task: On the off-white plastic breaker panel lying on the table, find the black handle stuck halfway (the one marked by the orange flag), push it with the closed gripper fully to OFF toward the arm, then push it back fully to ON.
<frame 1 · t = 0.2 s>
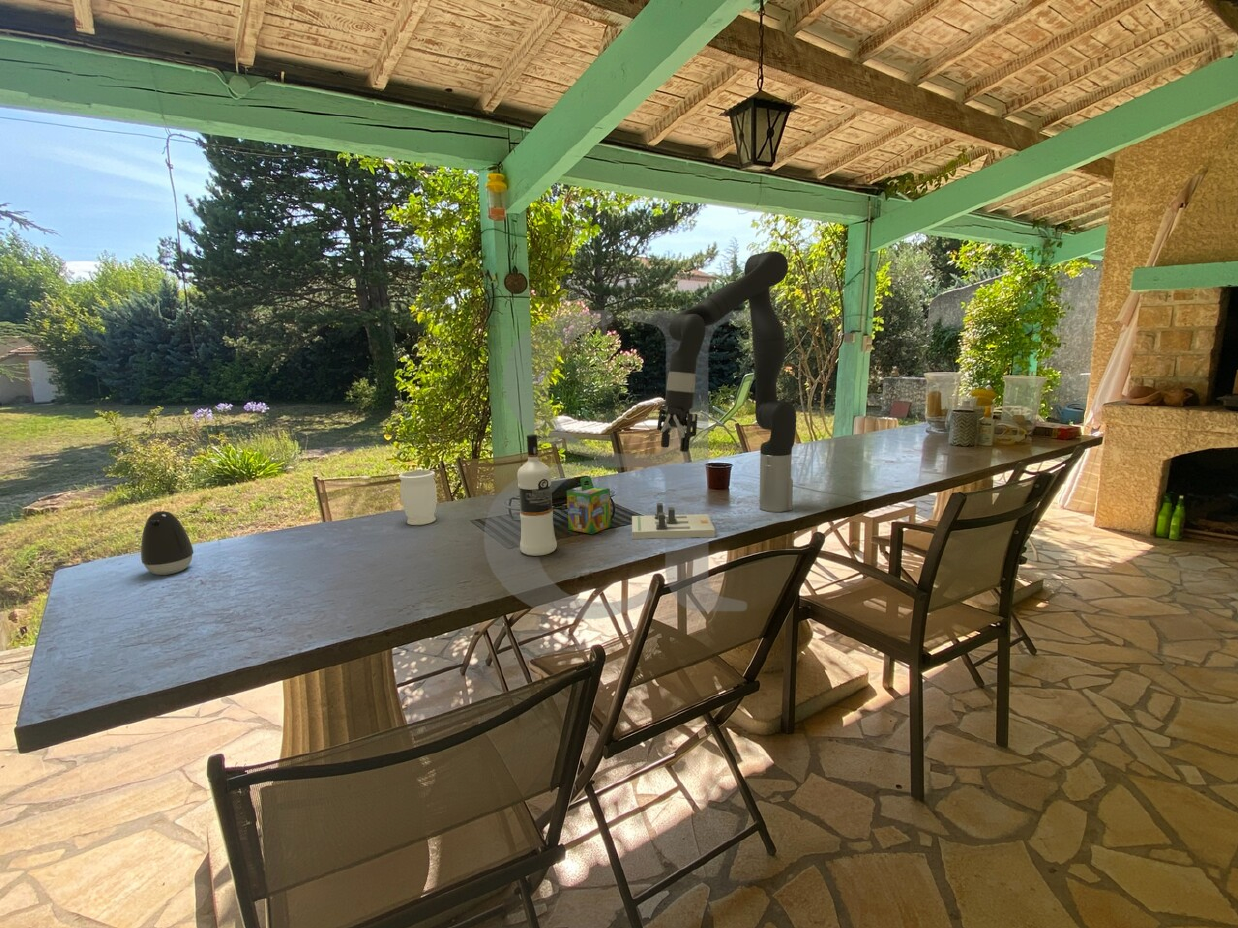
hand: (674, 449, 166), 22 cm above the table, tool pointing down, fingers open, 8 cm apart
breaker panel: (671, 529, 169), on the table
handle c: (661, 520, 164), point 4 cm above the table, slide at 6.0 cm
vodka: (538, 551, 155), on the table
handle a: (659, 510, 173), point 4 cm above the table, slide at 6.0 cm
dark rounded egg-shaped piece: (170, 572, 148), on the table
tripped handle: (671, 515, 168), point 4 cm above the table, slide at 3.0 cm
chalk box: (590, 529, 173), on the table
jar: (421, 522, 185), on the table
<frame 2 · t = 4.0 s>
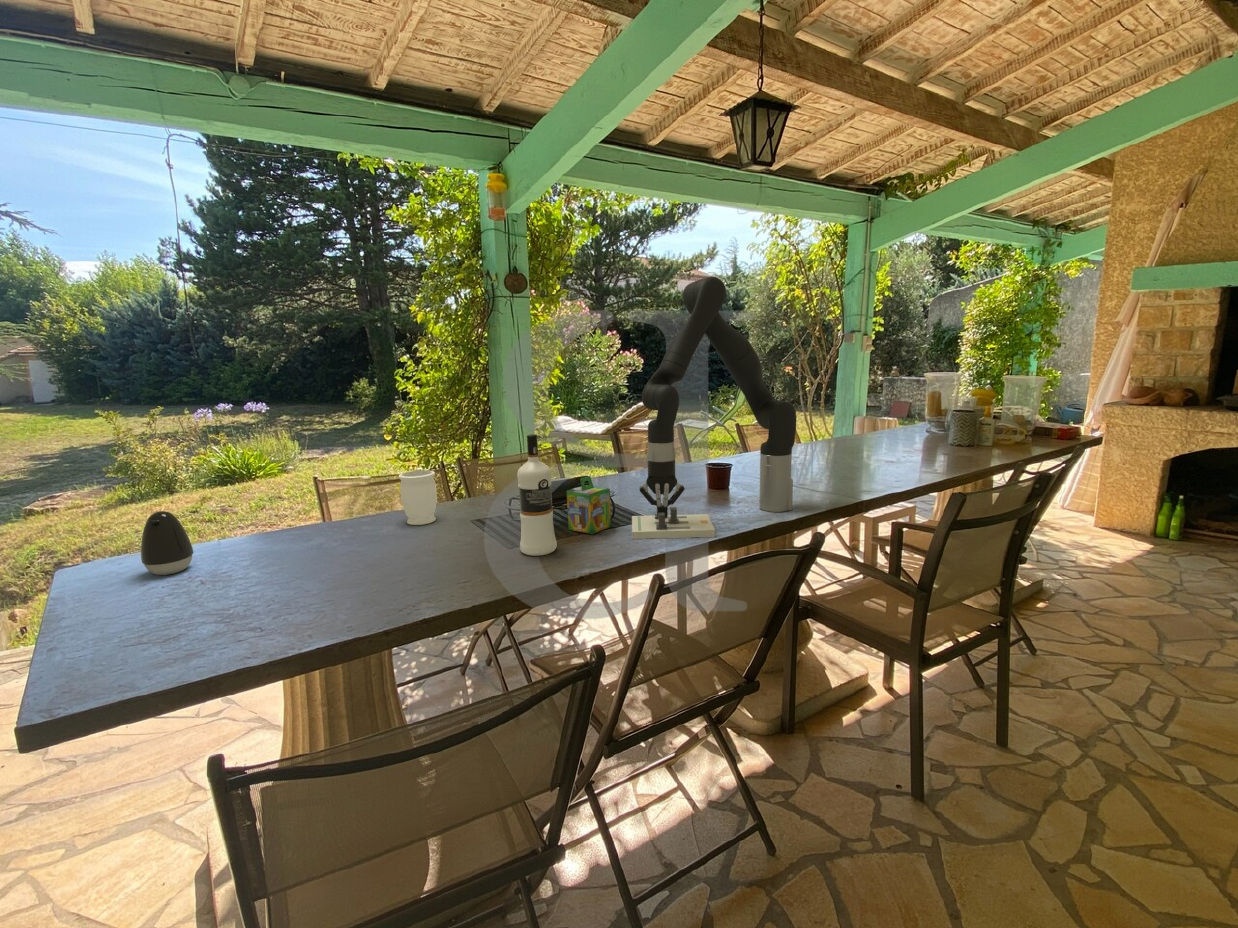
hand: (662, 519, 169), 3 cm above the table, tool pointing down, fingers closed
tripped handle: (673, 514, 168), point 4 cm above the table, slide at 2.4 cm, touching gripper
everything else where it was.
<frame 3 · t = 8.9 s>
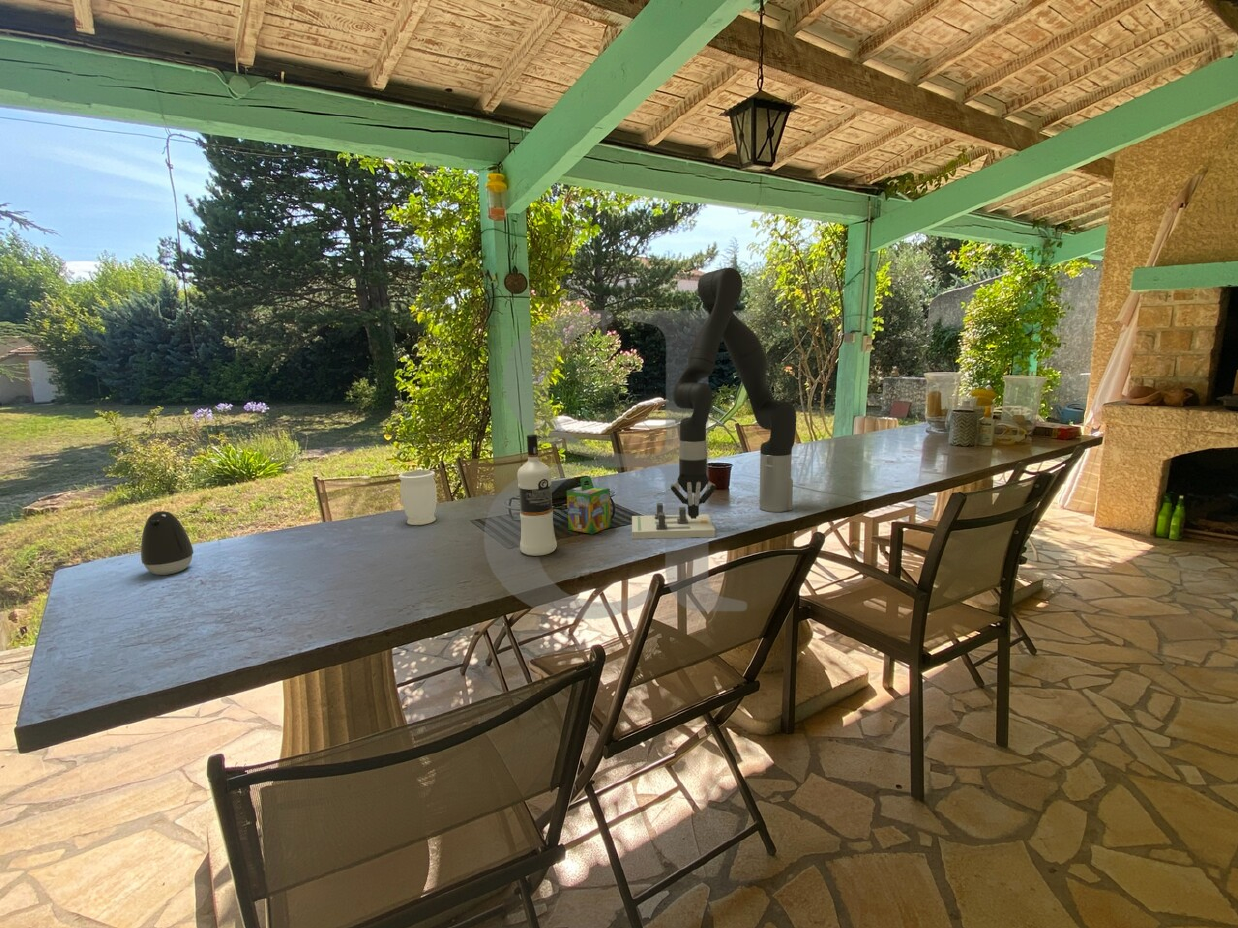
hand: (693, 517, 168), 3 cm above the table, tool pointing down, fingers closed
tripped handle: (682, 514, 168), point 4 cm above the table, slide at 0.0 cm, touching gripper
everything else where it was.
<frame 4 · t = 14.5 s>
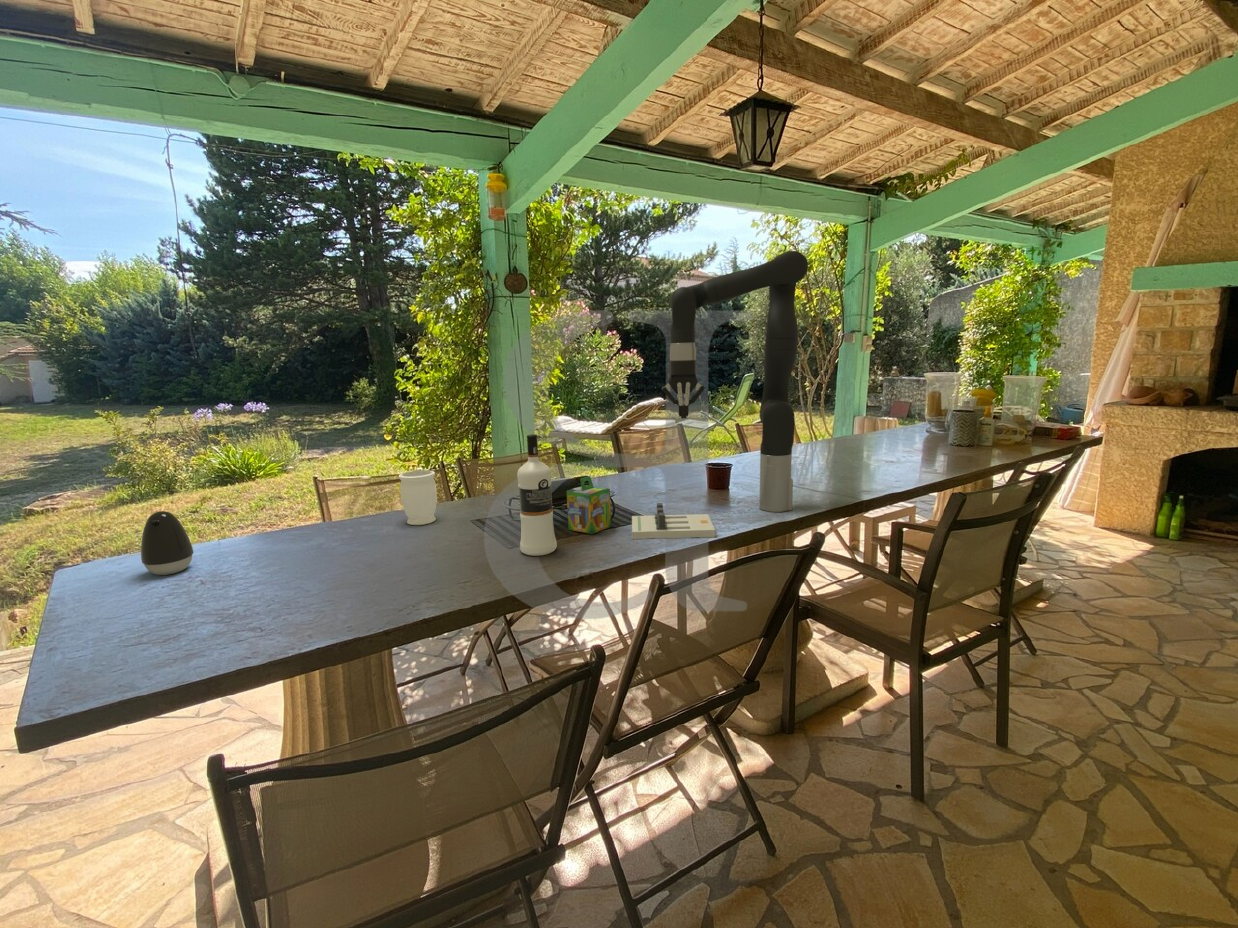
hand: (683, 418, 180), 29 cm above the table, tool pointing down, fingers closed
tripped handle: (660, 515, 168), point 4 cm above the table, slide at 6.1 cm
everything else where it was.
at the end: tripped handle slide at 6.1 cm; handle a slide at 6.0 cm; handle c slide at 6.0 cm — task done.
